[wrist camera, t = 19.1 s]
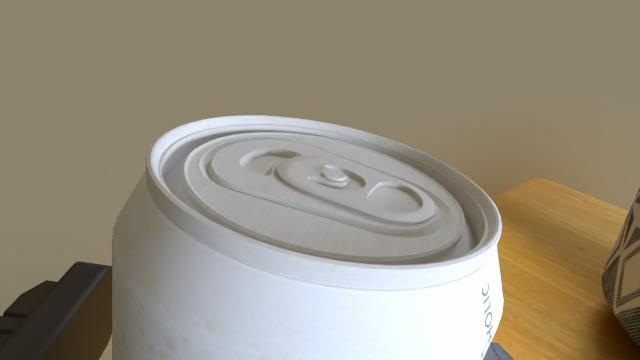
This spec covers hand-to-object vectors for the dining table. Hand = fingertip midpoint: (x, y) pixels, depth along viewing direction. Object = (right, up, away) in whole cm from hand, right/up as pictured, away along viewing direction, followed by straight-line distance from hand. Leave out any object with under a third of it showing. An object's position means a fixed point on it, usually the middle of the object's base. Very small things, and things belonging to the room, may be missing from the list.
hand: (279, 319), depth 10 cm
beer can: (-2, -10, +2) cm, 10 cm away
